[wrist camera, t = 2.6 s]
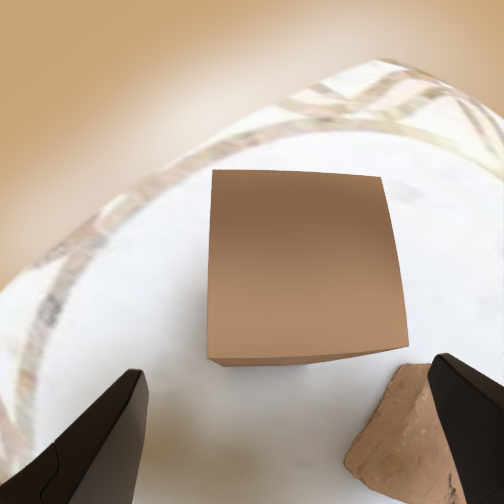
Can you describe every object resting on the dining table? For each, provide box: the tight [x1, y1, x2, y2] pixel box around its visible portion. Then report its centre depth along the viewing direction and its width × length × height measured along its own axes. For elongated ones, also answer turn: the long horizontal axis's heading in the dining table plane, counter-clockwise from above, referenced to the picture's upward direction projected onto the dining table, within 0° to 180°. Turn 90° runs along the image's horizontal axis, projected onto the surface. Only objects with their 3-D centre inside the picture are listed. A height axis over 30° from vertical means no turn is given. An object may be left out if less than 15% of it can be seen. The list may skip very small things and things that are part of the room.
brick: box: [344, 363, 466, 504], centre depth 14 cm, size 17×8×5 cm, turn 58°
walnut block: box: [207, 170, 409, 366], centre depth 14 cm, size 5×5×12 cm
